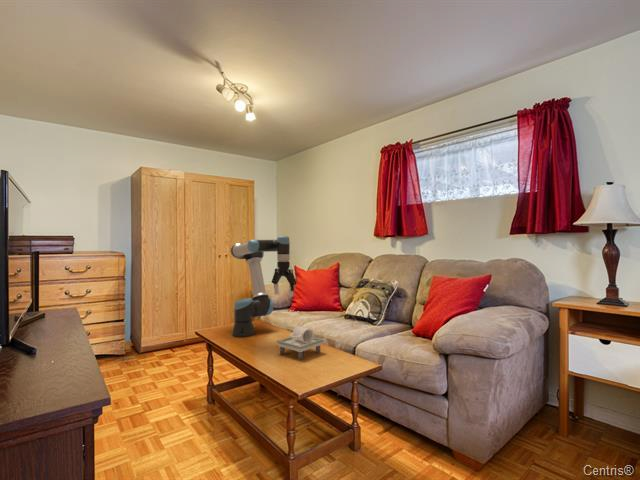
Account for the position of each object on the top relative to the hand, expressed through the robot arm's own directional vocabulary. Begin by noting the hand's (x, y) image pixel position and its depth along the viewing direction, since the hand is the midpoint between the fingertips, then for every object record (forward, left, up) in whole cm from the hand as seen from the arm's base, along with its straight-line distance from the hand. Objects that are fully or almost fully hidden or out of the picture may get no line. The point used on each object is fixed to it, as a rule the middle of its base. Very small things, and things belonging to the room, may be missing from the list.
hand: (283, 295), depth 212 cm
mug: (+23, -9, -23) cm, 34 cm away
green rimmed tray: (+23, -9, -29) cm, 38 cm away
